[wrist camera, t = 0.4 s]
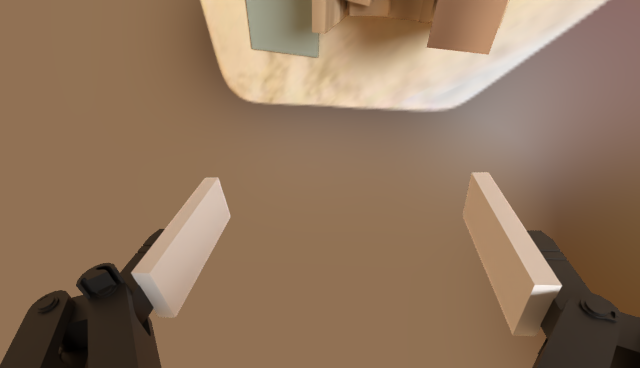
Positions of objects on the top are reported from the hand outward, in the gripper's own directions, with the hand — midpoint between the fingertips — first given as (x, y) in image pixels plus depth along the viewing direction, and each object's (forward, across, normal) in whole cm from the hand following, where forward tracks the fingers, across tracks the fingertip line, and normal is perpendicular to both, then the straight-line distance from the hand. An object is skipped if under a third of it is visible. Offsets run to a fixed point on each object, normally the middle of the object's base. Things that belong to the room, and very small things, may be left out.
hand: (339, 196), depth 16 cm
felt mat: (+27, -8, +7) cm, 29 cm away
